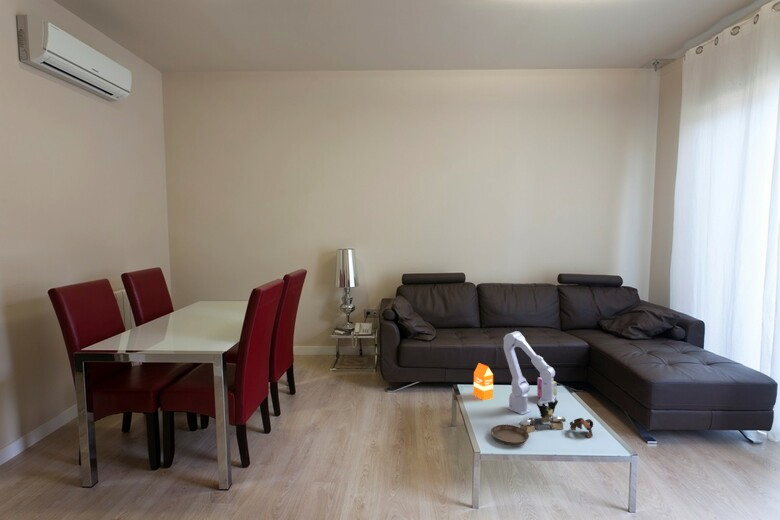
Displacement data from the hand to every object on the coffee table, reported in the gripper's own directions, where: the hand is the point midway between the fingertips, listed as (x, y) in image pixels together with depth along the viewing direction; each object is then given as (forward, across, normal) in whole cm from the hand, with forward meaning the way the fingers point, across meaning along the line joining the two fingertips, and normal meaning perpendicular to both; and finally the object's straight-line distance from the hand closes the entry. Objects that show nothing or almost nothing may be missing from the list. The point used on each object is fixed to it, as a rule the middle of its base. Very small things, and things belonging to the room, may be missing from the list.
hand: (547, 415), depth 205 cm
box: (+3, +24, +15) cm, 28 cm away
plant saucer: (+3, -32, 0) cm, 32 cm away
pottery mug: (+3, +2, -18) cm, 19 cm away
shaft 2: (+2, -4, -7) cm, 9 cm away
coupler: (+2, 0, 0) cm, 3 cm away
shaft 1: (+2, -18, 0) cm, 19 cm away
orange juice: (+2, -4, +40) cm, 40 cm away
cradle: (+2, -10, -2) cm, 10 cm away
